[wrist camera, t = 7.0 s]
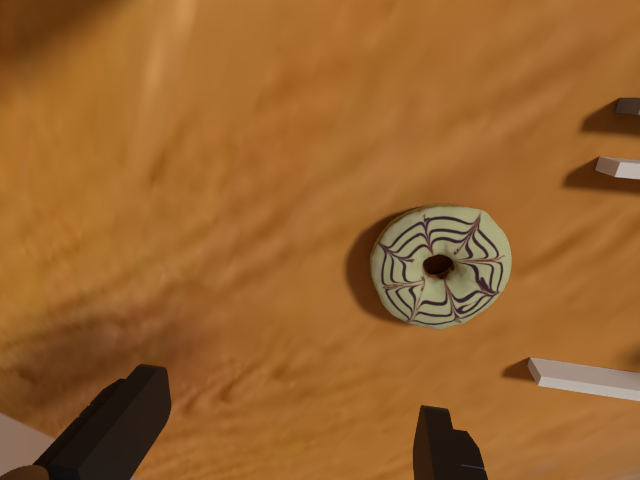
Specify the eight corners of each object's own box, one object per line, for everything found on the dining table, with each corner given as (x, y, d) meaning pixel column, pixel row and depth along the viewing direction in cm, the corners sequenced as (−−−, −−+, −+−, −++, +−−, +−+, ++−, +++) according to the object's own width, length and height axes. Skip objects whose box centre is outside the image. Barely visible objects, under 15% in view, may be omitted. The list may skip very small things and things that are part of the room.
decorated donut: (513, 292, 32) (530, 317, 29) (391, 322, 35) (393, 347, 31) (485, 179, 29) (501, 191, 26) (355, 221, 32) (352, 237, 28)
